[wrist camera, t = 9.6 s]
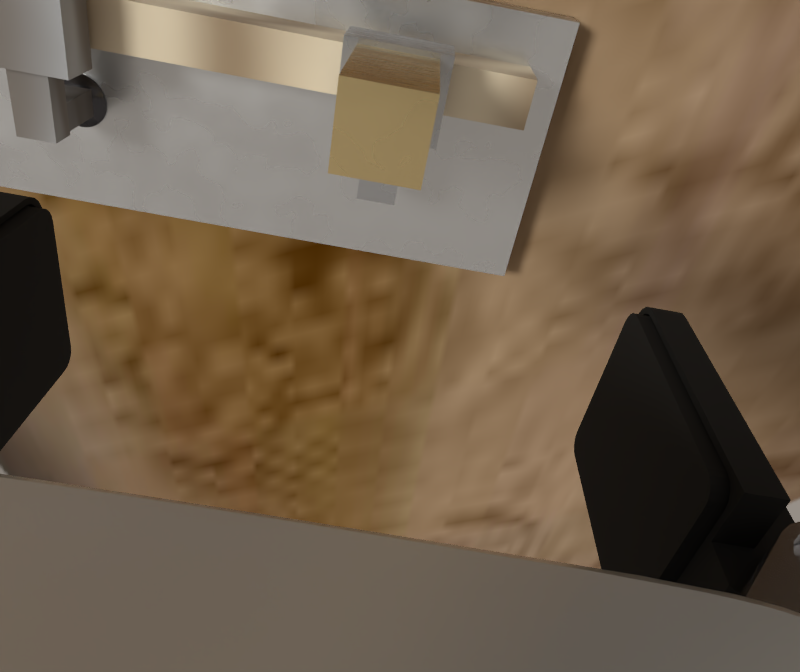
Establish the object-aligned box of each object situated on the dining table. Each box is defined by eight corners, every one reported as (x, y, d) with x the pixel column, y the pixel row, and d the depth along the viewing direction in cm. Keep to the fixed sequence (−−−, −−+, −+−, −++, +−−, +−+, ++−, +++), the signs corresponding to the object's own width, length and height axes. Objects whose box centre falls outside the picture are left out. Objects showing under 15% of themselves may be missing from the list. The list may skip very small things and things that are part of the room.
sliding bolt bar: (534, 49, 27) (551, 75, 23) (497, 190, 31) (505, 233, 27) (-23, -61, 26) (-106, -54, 22) (3, 98, 30) (-64, 129, 26)
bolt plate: (573, 17, 28) (580, 23, 27) (501, 262, 35) (504, 276, 33) (-95, -117, 26) (-123, -118, 25) (-35, 166, 33) (-55, 177, 32)
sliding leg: (453, 35, 27) (457, 90, 19) (424, 180, 30) (418, 277, 22) (357, 16, 26) (322, 64, 19) (339, 164, 30) (303, 256, 22)
